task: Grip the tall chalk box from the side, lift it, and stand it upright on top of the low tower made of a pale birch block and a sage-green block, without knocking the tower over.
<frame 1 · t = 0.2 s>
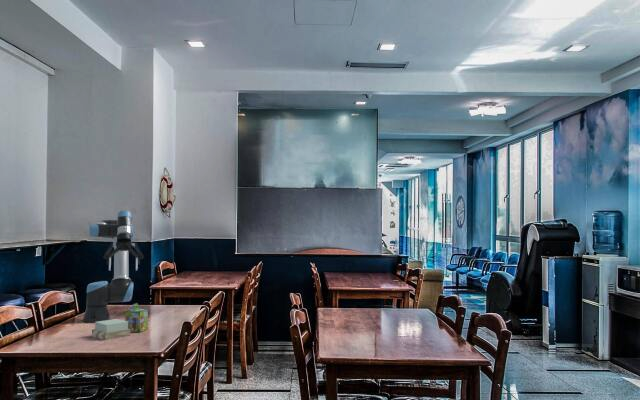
hand: (123, 269, 284), 35 cm above the table, tool tilted 35°, fingers open, 13 cm apart
bottom block: (111, 337, 280), on the table, touching top block
chalk box: (136, 331, 293), on the table
top block: (111, 329, 280), point 3 cm above the table, touching bottom block
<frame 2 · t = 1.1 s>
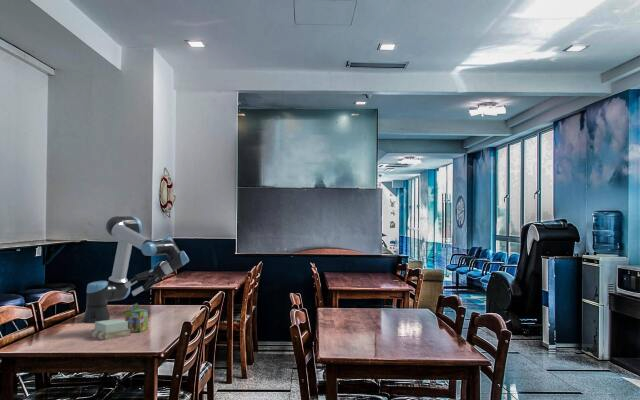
hand: (129, 290, 297), 22 cm above the table, tool tilted 60°, fingers open, 13 cm apart
nothing on the table moved.
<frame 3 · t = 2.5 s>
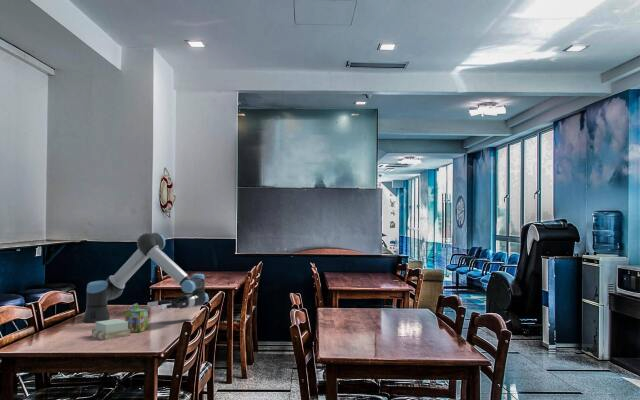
hand: (154, 306, 302), 12 cm above the table, tool horizontal, fingers open, 13 cm apart
nothing on the table moved.
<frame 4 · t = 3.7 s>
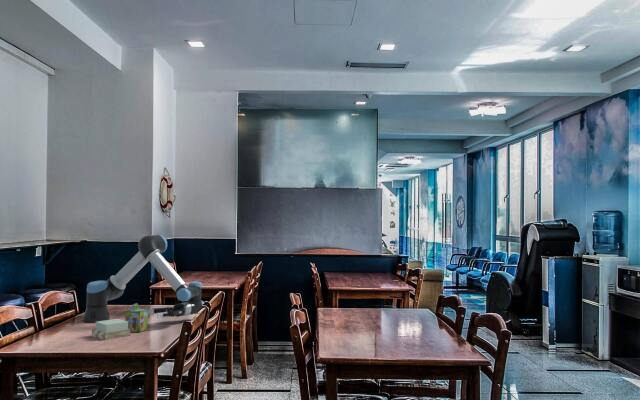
hand: (150, 314, 300), 8 cm above the table, tool horizontal, fingers open, 13 cm apart
nothing on the table moved.
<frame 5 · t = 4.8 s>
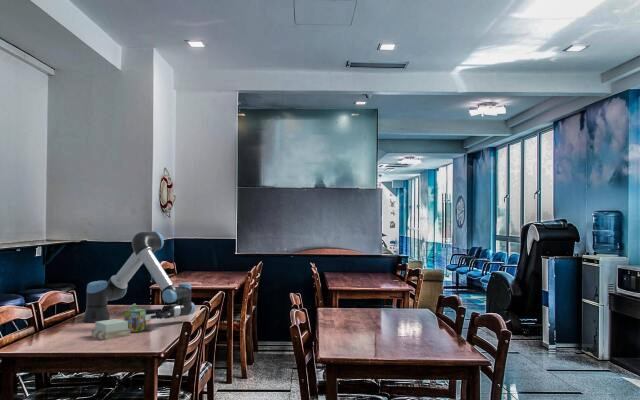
hand: (138, 316, 294), 8 cm above the table, tool horizontal, fingers open, 13 cm apart
chalk box: (135, 331, 293), on the table, touching gripper
everything else where it was.
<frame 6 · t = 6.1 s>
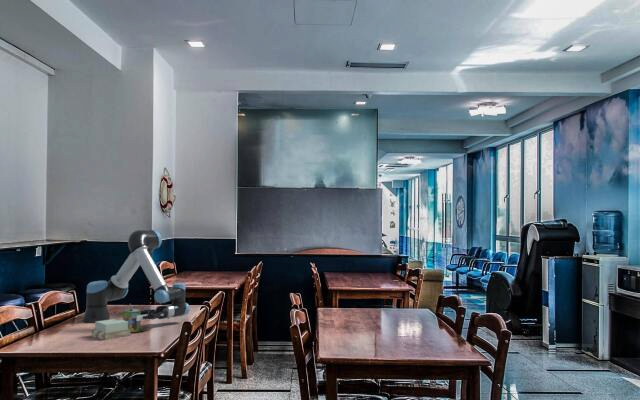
hand: (130, 316, 291), 8 cm above the table, tool horizontal, fingers closed on chalk box, 12 cm apart
chalk box: (131, 331, 291), on the table, touching gripper
everything else where it was.
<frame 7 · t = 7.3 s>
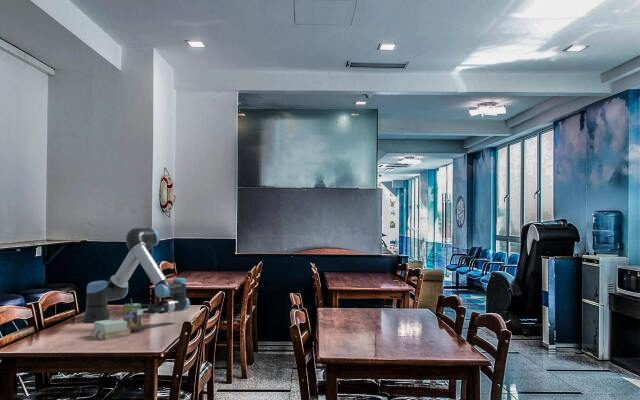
hand: (131, 311, 291), 11 cm above the table, tool horizontal, fingers closed on chalk box, 12 cm apart
chalk box: (132, 325, 291), point 3 cm above the table, touching gripper
when the fingers open (17 cm above the table, at t = 11.1 s): chalk box drops 2 cm, resting on top block.
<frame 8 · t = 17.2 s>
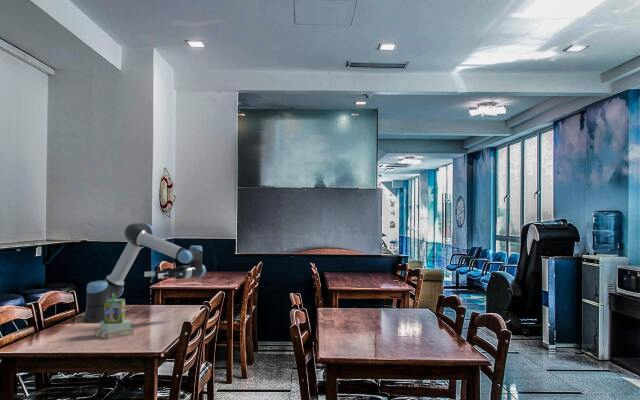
hand: (151, 275, 301), 30 cm above the table, tool horizontal, fingers open, 13 cm apart
bottom block: (114, 336, 282), on the table, touching top block
chalk box: (114, 322, 281), point 7 cm above the table, touching top block
top block: (115, 328, 282), point 3 cm above the table, touching bottom block, chalk box
at the end: chalk box inside the target area on the top block (0.8 cm from its centre), point 3.8 cm above the top block's base; chalk box tilted 0°; top block moved 2.8 cm from its start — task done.
